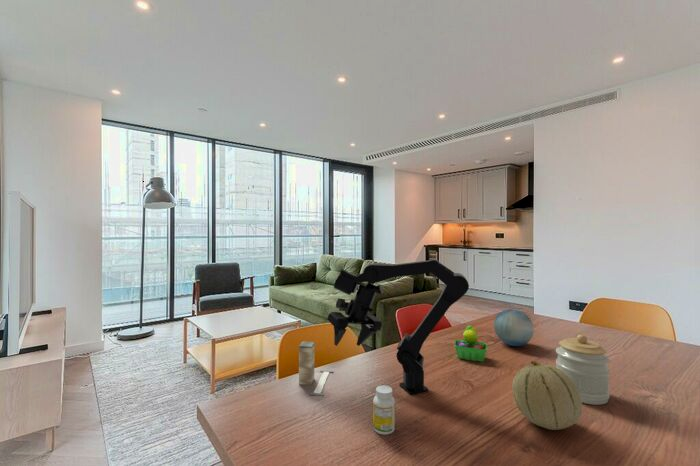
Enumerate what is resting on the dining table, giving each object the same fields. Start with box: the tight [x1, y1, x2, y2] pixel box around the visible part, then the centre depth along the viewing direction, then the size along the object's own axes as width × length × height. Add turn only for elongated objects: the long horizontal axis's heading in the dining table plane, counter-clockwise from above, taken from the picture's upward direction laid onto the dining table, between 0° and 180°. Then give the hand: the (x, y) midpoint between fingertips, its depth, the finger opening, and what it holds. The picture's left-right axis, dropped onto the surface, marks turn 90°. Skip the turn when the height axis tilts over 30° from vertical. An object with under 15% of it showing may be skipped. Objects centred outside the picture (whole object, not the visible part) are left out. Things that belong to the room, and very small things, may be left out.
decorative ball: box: [493, 308, 535, 347], centre depth 135 cm, size 15×15×15 cm
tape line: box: [308, 369, 334, 397], centre depth 101 cm, size 16×4×1 cm, turn 173°
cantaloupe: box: [511, 360, 583, 431], centre depth 80 cm, size 15×15×15 cm
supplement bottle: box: [372, 384, 396, 436], centre depth 78 cm, size 5×5×10 cm
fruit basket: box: [454, 325, 488, 363], centre depth 122 cm, size 11×9×11 cm
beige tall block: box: [298, 341, 315, 386], centre depth 102 cm, size 4×4×12 cm
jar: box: [555, 334, 611, 406], centre depth 95 cm, size 13×13×18 cm
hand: (346, 345), depth 104 cm, fingers open, 9 cm apart
